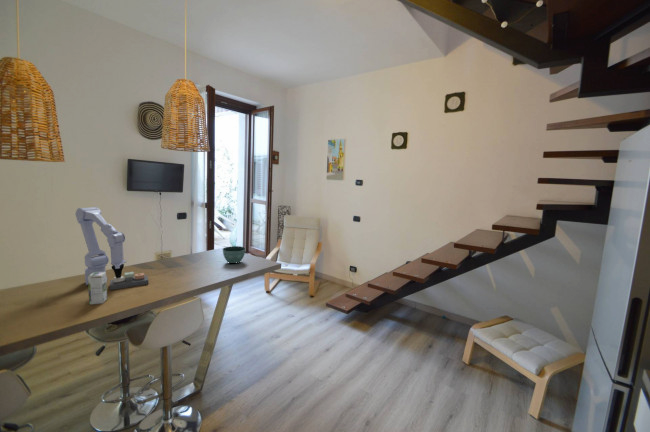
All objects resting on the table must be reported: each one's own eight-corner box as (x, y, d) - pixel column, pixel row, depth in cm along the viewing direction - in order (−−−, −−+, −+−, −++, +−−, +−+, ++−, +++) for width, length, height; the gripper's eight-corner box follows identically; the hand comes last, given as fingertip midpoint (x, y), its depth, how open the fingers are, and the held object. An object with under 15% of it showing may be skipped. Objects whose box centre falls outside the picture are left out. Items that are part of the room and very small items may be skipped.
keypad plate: (110, 290, 155) (109, 285, 155) (110, 284, 163) (110, 280, 163) (148, 284, 165) (148, 279, 165) (147, 278, 173) (147, 275, 173)
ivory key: (114, 287, 158) (113, 279, 158) (114, 284, 162) (113, 277, 161) (123, 285, 161) (123, 278, 160) (123, 283, 164) (123, 275, 164)
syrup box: (93, 300, 142) (91, 272, 140) (108, 298, 144) (106, 271, 142) (89, 304, 137) (86, 276, 135) (103, 303, 139) (101, 275, 137)
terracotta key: (135, 283, 164) (135, 276, 163) (135, 281, 167) (134, 274, 167) (144, 282, 166) (144, 275, 166) (144, 280, 170) (143, 272, 169)
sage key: (124, 282, 161) (124, 275, 160) (124, 280, 164) (124, 272, 164) (134, 281, 163) (133, 273, 163) (133, 279, 167) (133, 271, 166)
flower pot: (247, 259, 221) (247, 246, 219) (242, 266, 205) (242, 251, 203) (226, 259, 220) (226, 245, 218) (220, 265, 204) (219, 251, 202)
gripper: (125, 256, 155) (127, 280, 157) (125, 250, 167) (127, 272, 169) (109, 258, 151) (111, 282, 153) (110, 252, 163) (112, 274, 165)
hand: (118, 277), depth 161 cm, fingers closed, pressing on ivory key
